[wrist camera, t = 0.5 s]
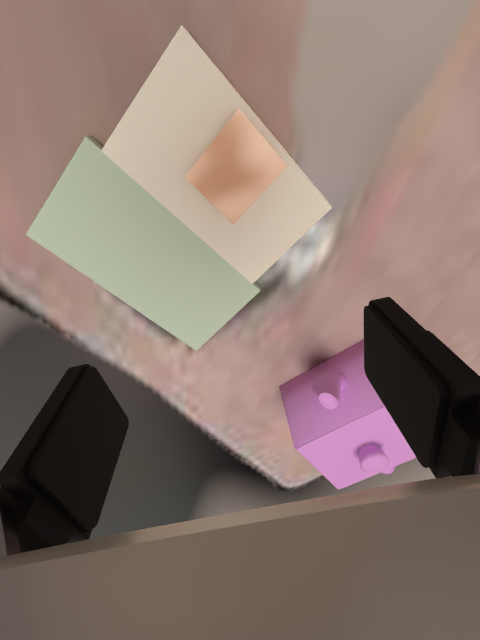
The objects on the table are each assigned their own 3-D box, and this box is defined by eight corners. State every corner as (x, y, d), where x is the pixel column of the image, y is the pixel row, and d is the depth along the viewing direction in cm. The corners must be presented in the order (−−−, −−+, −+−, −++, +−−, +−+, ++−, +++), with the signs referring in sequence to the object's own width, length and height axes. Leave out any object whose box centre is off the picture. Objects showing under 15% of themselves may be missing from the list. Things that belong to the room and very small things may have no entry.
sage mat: (91, 136, 29) (85, 136, 28) (259, 285, 39) (260, 290, 38) (33, 231, 34) (25, 234, 32) (197, 344, 43) (196, 350, 42)
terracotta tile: (237, 111, 26) (238, 108, 24) (281, 163, 29) (287, 165, 26) (187, 173, 29) (184, 177, 26) (232, 217, 31) (233, 224, 29)
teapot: (343, 305, 41) (394, 372, 29) (403, 403, 53) (458, 480, 41) (254, 358, 45) (267, 437, 33) (328, 439, 57) (357, 519, 45)
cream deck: (185, 36, 26) (181, 24, 23) (323, 202, 34) (332, 207, 31) (111, 149, 30) (100, 150, 27) (250, 274, 38) (252, 284, 35)
